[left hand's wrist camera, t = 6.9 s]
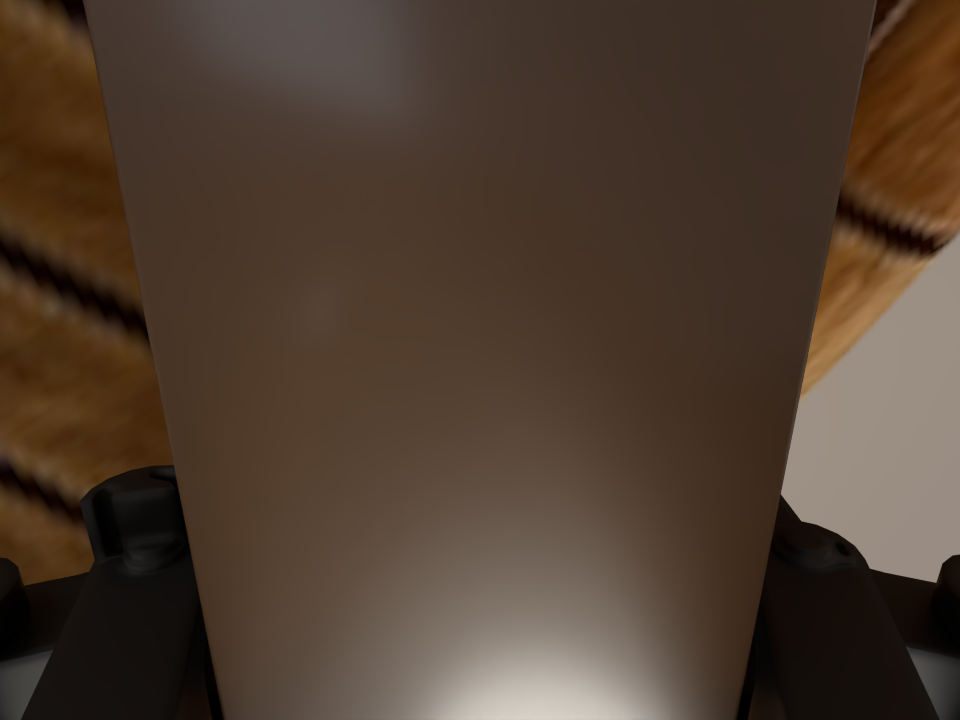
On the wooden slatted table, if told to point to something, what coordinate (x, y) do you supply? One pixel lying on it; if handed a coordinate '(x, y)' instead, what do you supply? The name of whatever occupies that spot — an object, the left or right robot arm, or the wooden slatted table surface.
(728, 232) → the bar
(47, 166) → the wooden slatted table surface
